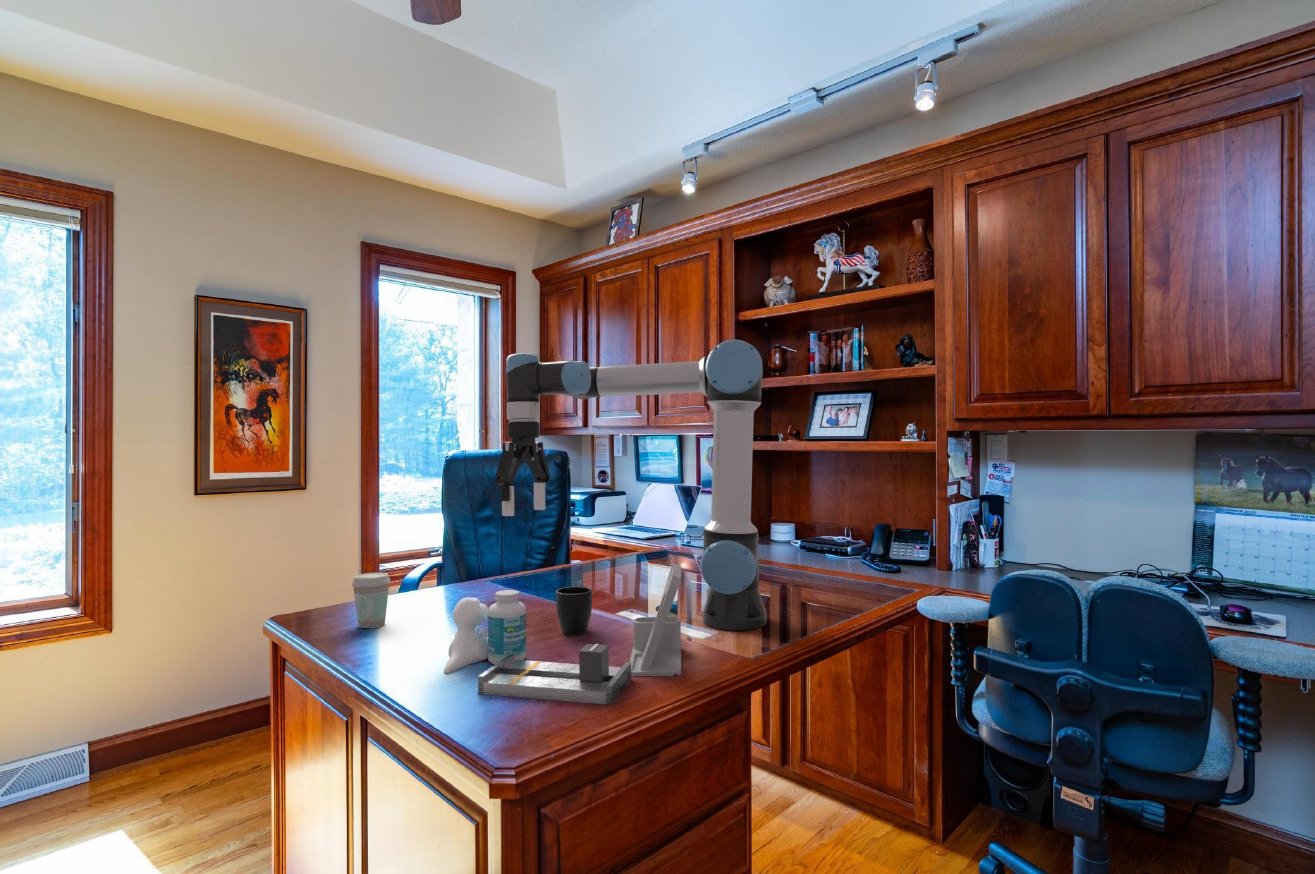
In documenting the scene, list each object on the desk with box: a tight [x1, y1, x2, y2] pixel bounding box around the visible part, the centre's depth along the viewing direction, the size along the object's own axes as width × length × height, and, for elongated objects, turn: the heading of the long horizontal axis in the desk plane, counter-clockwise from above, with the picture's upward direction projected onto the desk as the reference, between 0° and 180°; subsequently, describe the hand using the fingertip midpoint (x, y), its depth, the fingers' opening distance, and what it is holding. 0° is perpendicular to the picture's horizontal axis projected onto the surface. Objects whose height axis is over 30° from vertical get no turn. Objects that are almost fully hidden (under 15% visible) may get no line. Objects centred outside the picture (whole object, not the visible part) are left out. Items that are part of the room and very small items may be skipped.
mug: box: [555, 585, 593, 636], centre depth 149 cm, size 8×12×10 cm
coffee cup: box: [351, 571, 391, 629], centre depth 155 cm, size 8×9×12 cm
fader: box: [578, 643, 610, 682], centre depth 112 cm, size 4×4×6 cm
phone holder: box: [629, 562, 682, 677], centre depth 127 cm, size 17×10×18 cm, turn 178°
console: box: [477, 654, 632, 706], centre depth 114 cm, size 24×12×3 cm, turn 77°
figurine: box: [443, 597, 489, 674], centre depth 130 cm, size 8×18×12 cm, turn 166°
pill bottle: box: [487, 589, 527, 665], centre depth 128 cm, size 8×7×14 cm
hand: (524, 512), depth 150 cm, fingers open, 13 cm apart
